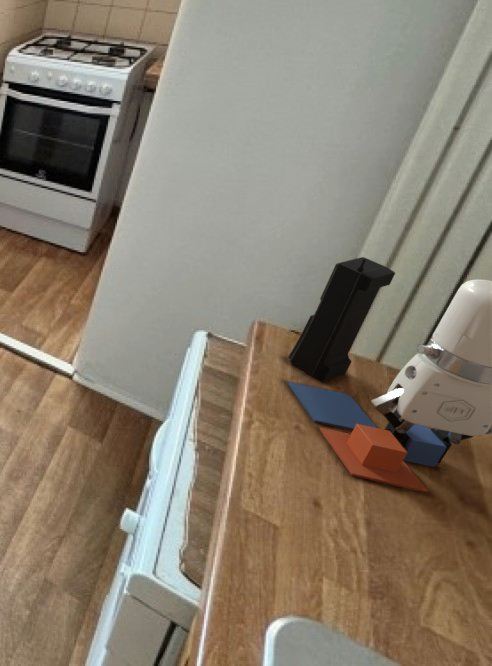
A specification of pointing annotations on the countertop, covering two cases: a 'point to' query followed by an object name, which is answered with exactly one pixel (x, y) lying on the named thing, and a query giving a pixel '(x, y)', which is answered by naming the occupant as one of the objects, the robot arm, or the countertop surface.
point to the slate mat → (330, 407)
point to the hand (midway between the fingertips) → (409, 449)
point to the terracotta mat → (400, 478)
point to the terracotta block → (376, 448)
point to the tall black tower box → (339, 318)
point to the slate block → (423, 446)
